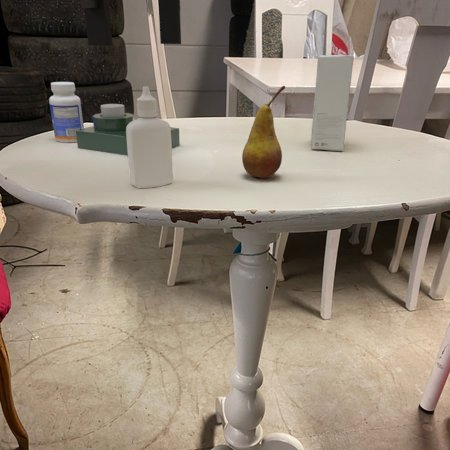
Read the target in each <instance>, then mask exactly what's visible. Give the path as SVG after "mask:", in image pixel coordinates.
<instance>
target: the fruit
mask: <svg viewBox="0 0 450 450" xmlns="http://www.w3.org/2000/svg"><path fill="white" fill-rule="evenodd" d="M285 89H286V86H285V85H282V86H281V87H280V88H279V89H278V91H277V92H276V93H275V94H274V96H273V97H272V98H271V99H270V101H269V102H268V103H264V104H263V105H261V106H260V107H259V109H258V110H257V112H256V115H255V117H254V120H253V123H252V126H251V129H250V132H249V134H248V135H249V136H248V138H247V141H246V143H245V145H244V147H243V150H242V154H241V160H242V161H241V162H242V166H243V169H244V170H245V172H246V173H247V174H248V175H250V176H251V177H254V178H260V179H268V178H270V177H272V176H273V175H275V173H277V172H278V170H279V168H280V167H281V165H282V160H283V151H282V148H281V144H280V142H279V140H278V137H277V134H276V131H275V123H274V115H273V111H272V108H271V104H272V103H273V102H274V100H275V99H276V98H277V97H278V95H280V94H281V92H283V91H284V90H285Z"/></svg>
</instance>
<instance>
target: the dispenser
mask: <svg viewBox="0 0 450 450" xmlns="http://www.w3.org/2000/svg"><path fill="white" fill-rule="evenodd" d="M91 118H92V125H93V126H89V127H88V126H87V127H84V128H83V129H79V130H76V137H77V142H76V144H77V148H78V149H82V150H87V151H89V150H90V151H95V152H100V153H101V152H103V153H107V154H108V153H109V154H115V155H123V156H128V150H127V138H126V127H127V125H128V124H129V123H130V122H132V121H133V120H135V115H134V114H133V113H130V112H125V116H124V117H116V118H107V117H102V114H101V112H100V113H95V114H94V115H93V114H92V117H91ZM170 129H171V144H172V149H173V148H176V146H177V147H179V145H181V141H180V139H181V138H180V128H179V127H173V126H170Z"/></svg>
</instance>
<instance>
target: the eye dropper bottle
mask: <svg viewBox="0 0 450 450" xmlns="http://www.w3.org/2000/svg"><path fill="white" fill-rule="evenodd" d="M157 102H158V101H157V98H155V97H154V96H153V95H152V94H151V91H150V86H148V85H144V86H142V92H141V95H140V96H139V97H138V98H136V110H137V116H138V117H137V118H135V119H134V120H133V121H132V122H130V123H129V124H128V125H127V127H126V138H127V150H128V155H127V159H128V160H127V161H128V172H129V182H130V185H132V186H133V187H134V188H138V189H150V188H158V187H163V186H167V185H170V184H172V183H173V180H174V172H173V170H174V169H173V148H172V144H171V129H170V127H171V125H170V124H169V122H168V121H166V120H164V119H162V118H158V103H157Z"/></svg>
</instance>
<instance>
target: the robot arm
mask: <svg viewBox="0 0 450 450" xmlns="http://www.w3.org/2000/svg"><path fill="white" fill-rule="evenodd" d="M79 3H80V5H81V7H82V9H83V11H84V20H85V28H86V35H87V43H88V44H87V45H88V46H100V47H101V46H106V47H110V46H111V47H112V46H114V44H113V34H112V33H113V32H112V23H111V16H110V15H111V14H110V4H109V0H79ZM157 3H158V4H157V5H158V6H157V7H158V20H159V21H158V22H159V40H160V41H159V42H160V44H161V45H181V44H182V29H181V27H182V25H181V0H157Z"/></svg>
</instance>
